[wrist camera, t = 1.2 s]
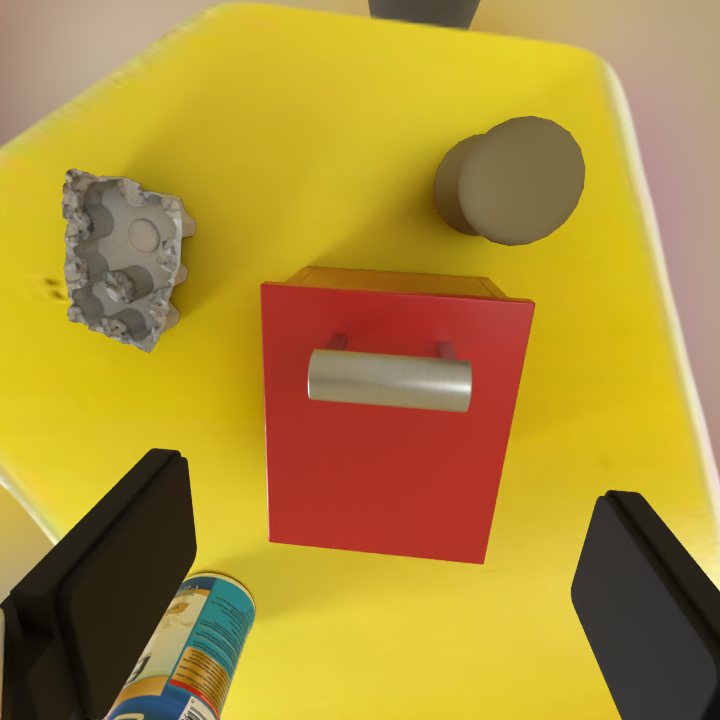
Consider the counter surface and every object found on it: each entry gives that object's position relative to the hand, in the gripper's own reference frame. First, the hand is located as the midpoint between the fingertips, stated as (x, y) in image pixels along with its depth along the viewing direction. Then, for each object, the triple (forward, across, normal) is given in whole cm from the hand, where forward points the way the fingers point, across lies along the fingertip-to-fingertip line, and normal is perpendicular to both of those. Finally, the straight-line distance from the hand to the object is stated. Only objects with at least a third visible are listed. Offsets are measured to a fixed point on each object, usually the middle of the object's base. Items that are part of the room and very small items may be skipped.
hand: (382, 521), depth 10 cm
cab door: (+13, 0, +5) cm, 13 cm away
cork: (+22, -5, -8) cm, 24 cm away
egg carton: (+22, +18, -2) cm, 29 cm away
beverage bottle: (+23, +15, +31) cm, 41 cm away
